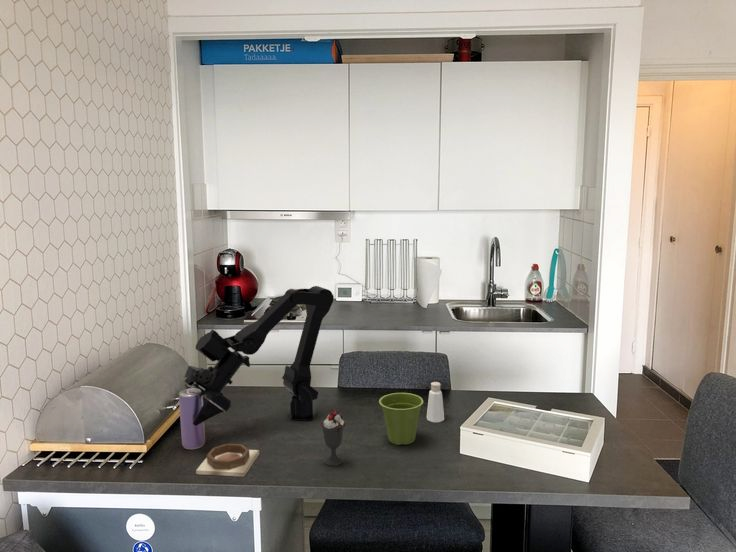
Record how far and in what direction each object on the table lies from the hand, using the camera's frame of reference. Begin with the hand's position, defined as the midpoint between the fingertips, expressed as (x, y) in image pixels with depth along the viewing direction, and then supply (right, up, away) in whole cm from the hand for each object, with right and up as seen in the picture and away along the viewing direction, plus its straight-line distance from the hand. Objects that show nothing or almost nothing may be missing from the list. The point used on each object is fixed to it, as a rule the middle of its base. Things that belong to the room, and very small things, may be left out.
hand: (187, 419), depth 160 cm
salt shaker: (+68, -4, +18) cm, 70 cm away
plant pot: (+57, -7, +4) cm, 57 cm away
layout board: (+13, -9, -8) cm, 18 cm away
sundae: (+39, -9, -8) cm, 41 cm away
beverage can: (+1, -8, +2) cm, 8 cm away
